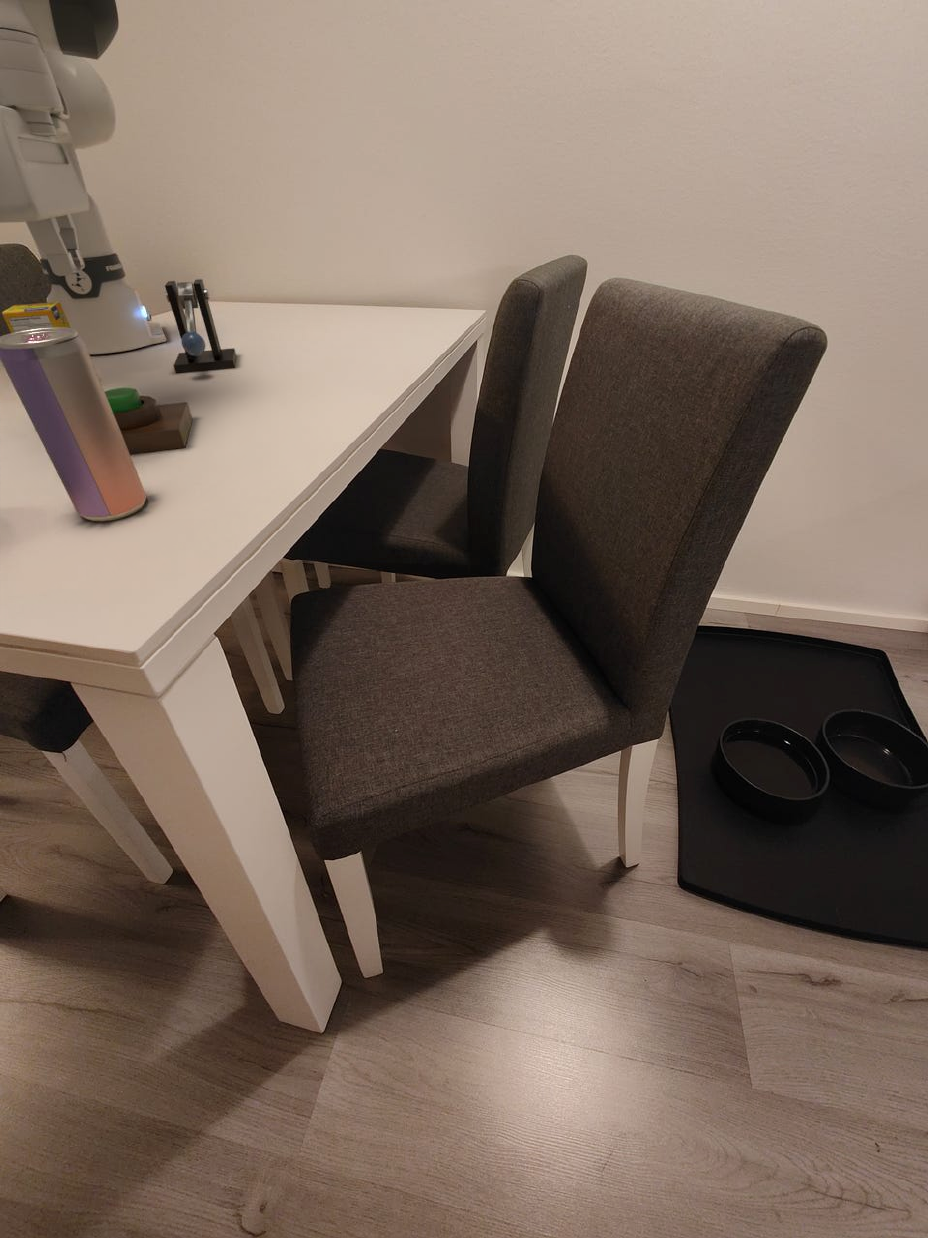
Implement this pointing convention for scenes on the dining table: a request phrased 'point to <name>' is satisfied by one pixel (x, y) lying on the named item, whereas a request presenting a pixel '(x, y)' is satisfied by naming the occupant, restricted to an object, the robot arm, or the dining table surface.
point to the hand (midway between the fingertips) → (71, 272)
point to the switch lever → (190, 319)
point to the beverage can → (73, 420)
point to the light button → (123, 399)
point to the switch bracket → (216, 355)
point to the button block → (154, 426)
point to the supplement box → (35, 316)
